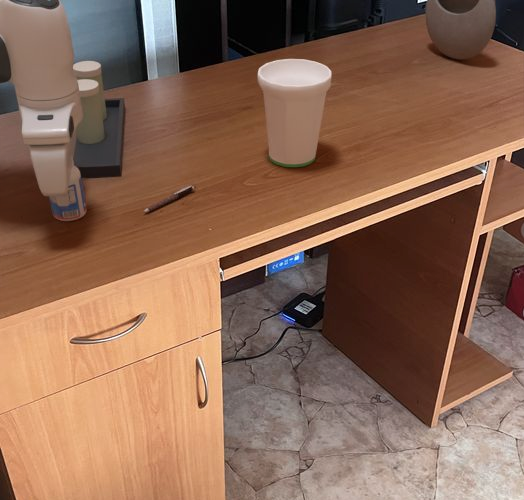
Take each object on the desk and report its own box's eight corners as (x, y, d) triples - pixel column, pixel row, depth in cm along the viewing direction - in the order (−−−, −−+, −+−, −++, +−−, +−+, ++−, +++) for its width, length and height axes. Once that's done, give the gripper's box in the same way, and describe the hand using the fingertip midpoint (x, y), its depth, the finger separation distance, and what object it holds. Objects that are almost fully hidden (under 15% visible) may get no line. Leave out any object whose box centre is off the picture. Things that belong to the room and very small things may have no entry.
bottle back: (79, 123, 149) (71, 71, 143) (81, 112, 153) (73, 61, 147) (106, 122, 150) (100, 70, 143) (107, 111, 154) (101, 60, 147)
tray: (52, 179, 134) (50, 168, 132) (66, 110, 155) (64, 100, 154) (121, 176, 135) (119, 165, 133) (125, 108, 156) (124, 97, 155)
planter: (411, 50, 182) (422, -38, 170) (431, 43, 185) (444, -43, 173) (474, 73, 171) (491, -19, 159) (495, 65, 175) (513, -25, 162)
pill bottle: (66, 202, 128) (56, 146, 122) (93, 209, 126) (84, 153, 120) (45, 217, 124) (33, 160, 118) (72, 225, 122) (62, 168, 116)
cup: (254, 142, 145) (254, 59, 135) (321, 140, 146) (325, 57, 136) (260, 174, 135) (261, 87, 125) (332, 171, 136) (338, 85, 126)
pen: (193, 188, 131) (193, 182, 131) (197, 189, 131) (196, 184, 130) (141, 213, 125) (141, 207, 124) (144, 215, 125) (144, 209, 124)
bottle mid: (75, 144, 142) (67, 91, 136) (77, 132, 146) (69, 79, 140) (104, 143, 143) (97, 89, 136) (106, 131, 147) (99, 78, 140)
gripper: (36, 81, 121) (51, 163, 130) (19, 139, 106) (38, 228, 115) (78, 80, 122) (90, 161, 131) (67, 137, 106) (82, 225, 115)
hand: (65, 193), depth 123 cm, fingers closed on pill bottle, 5 cm apart
